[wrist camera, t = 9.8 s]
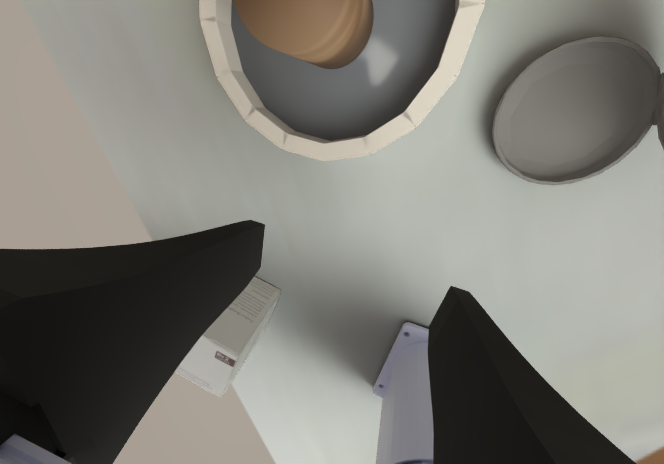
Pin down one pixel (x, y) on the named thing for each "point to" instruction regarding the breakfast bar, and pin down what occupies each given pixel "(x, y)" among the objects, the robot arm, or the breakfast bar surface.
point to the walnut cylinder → (311, 28)
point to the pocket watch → (578, 110)
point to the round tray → (344, 77)
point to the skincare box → (230, 339)
